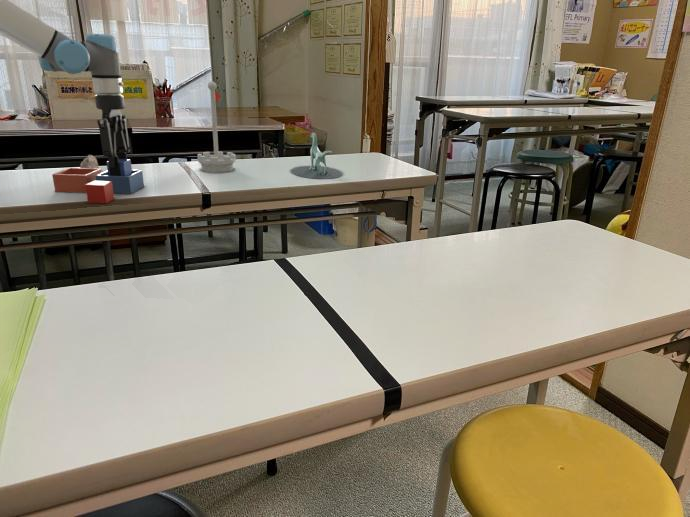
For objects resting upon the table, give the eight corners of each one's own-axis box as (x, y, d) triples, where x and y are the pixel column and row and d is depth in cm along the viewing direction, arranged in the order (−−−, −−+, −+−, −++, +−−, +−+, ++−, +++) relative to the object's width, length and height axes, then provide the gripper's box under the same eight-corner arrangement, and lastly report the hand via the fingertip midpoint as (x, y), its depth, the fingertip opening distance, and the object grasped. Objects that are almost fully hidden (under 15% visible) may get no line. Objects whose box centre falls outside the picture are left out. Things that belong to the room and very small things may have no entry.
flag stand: (224, 174, 177) (218, 82, 166) (191, 171, 181) (184, 81, 170) (242, 167, 189) (238, 81, 178) (211, 164, 192) (205, 80, 182)
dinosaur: (353, 178, 177) (354, 139, 172) (304, 181, 170) (304, 141, 166) (328, 164, 198) (328, 130, 194) (283, 167, 192) (283, 131, 187)
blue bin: (97, 193, 149) (95, 175, 147) (112, 185, 158) (110, 169, 156) (131, 194, 149) (128, 176, 147) (144, 186, 158) (142, 170, 156)
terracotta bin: (55, 191, 149) (52, 174, 147) (72, 184, 158) (69, 167, 156) (88, 192, 149) (85, 175, 147) (103, 185, 158) (101, 168, 156)
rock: (89, 183, 159) (85, 160, 157) (78, 175, 170) (74, 153, 167) (109, 181, 163) (105, 158, 160) (97, 173, 173) (94, 152, 171)
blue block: (108, 178, 150) (106, 161, 148) (116, 175, 154) (113, 158, 153) (125, 179, 150) (123, 162, 148) (132, 175, 154) (130, 159, 153)
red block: (87, 202, 139) (85, 184, 137) (96, 198, 144) (94, 180, 142) (106, 203, 139) (103, 185, 137) (114, 198, 144) (112, 181, 142)
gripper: (107, 96, 135) (119, 183, 143) (135, 92, 152) (144, 170, 160) (79, 96, 135) (92, 183, 144) (110, 92, 152) (120, 170, 160)
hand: (120, 176), depth 152 cm, fingers closed on blue block, 5 cm apart
